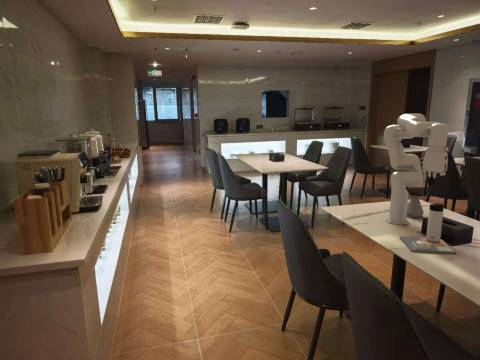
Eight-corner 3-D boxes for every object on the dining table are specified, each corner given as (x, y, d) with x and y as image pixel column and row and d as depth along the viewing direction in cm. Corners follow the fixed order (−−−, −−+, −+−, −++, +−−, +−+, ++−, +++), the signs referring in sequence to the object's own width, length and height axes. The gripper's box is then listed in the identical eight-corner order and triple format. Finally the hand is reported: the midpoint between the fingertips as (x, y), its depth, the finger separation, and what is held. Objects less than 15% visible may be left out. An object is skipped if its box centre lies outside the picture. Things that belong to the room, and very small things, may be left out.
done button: (415, 244, 168) (415, 240, 168) (423, 244, 168) (424, 240, 167) (417, 247, 164) (418, 243, 164) (426, 247, 164) (427, 243, 163)
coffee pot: (426, 218, 212) (429, 195, 209) (408, 218, 212) (410, 195, 209) (411, 208, 233) (413, 187, 229) (394, 208, 233) (396, 187, 230)
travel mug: (433, 244, 169) (437, 205, 165) (423, 239, 175) (426, 202, 171) (443, 242, 171) (447, 204, 167) (432, 238, 177) (436, 201, 173)
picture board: (399, 238, 181) (400, 233, 180) (439, 239, 178) (440, 235, 177) (411, 251, 163) (411, 247, 163) (456, 253, 160) (456, 248, 160)
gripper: (456, 150, 161) (451, 187, 166) (425, 146, 173) (420, 181, 178) (449, 151, 157) (443, 189, 162) (417, 147, 169) (413, 183, 173)
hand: (431, 185), depth 170 cm, fingers closed
